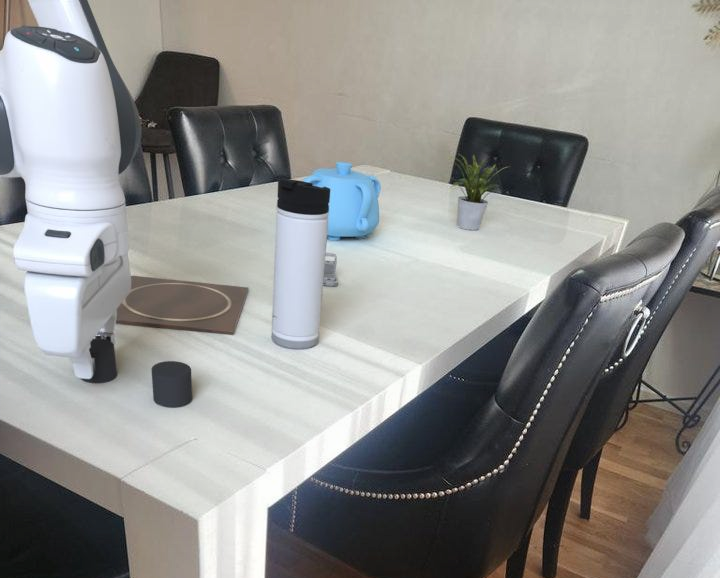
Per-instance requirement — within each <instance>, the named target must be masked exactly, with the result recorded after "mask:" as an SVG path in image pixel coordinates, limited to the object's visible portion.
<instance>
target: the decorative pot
mask: <svg viewBox="0 0 720 578" xmlns="http://www.w3.org/2000/svg"><path fill="white" fill-rule="evenodd" d="M335 167H336V168H324V167H321V168H318V169H315V170H314V171H313V172H312V174H310V175H308V176H306V177H304V179H302V181H303V182H308V183H312V184H313V185H312V186H317V187H327V188H330V201H329V204H328V205H329V216H328V231H327V240H330V241H340V240H341V237H344V238H345V237H347V238H348V237H352V238H354V237H355V238H354V239H358V238H364V239H365V238H366V237H365V236H367V235H371V234H372V233H373V232H374V231H375V230H376V228H377V227H378V225H379V223H380V205H379V198H380V197H379V196H380V194H381V190H382V185H381V182H380V180H379V179H378V178H377V177H376V176H374V175H371V174H365V173H362V172H359V171H356V170H352V167H353V164H352V163H351V162H346V161H336V162H335Z"/></svg>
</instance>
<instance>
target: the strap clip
mask: <svg viewBox="0 0 720 578" xmlns="http://www.w3.org/2000/svg"><path fill="white" fill-rule="evenodd" d="M325 257H330V258H331V257H332V258H334V260H325V267H324V279H323V286H327V287H330V286H331V287H338V283H339V279H338V277H337V276H336V270H337V264H338V257H337V254H335V253H333V252H326V255H325Z"/></svg>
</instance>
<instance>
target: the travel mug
mask: <svg viewBox="0 0 720 578" xmlns="http://www.w3.org/2000/svg"><path fill="white" fill-rule="evenodd" d="M312 185H313V184H312V183H308V182H303V180H299V179H298V180H296V179H291V178H278V179H277V201H276V212H275V216H276V217H275V236H274V238H275V239H274V259H273V260H274V261H273V263H274V265H273V284H272V285H273V287H272V288H273V289H272V312H271V313H272V314H271V339H272V341H273V342H274V343H275V344H276V345H278V346H280V347H283V348H286V349H292V350H307V349H311V348H312V347H315V346H316V345H317V344H318V343H319V339H320V337H319V336H320V328H321V327H320V326H321V315H322V303H323V292H324V291H323V289H324V285H323V279H324V267H325V261H326V256H325V255H326V253H327V242H328V241H327V240H328V238H327V237H328V235H327V231H328V216H329V205H328V204H329V201H330V188H327V187H317V186H312Z"/></svg>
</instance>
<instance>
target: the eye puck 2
mask: <svg viewBox="0 0 720 578" xmlns="http://www.w3.org/2000/svg"><path fill="white" fill-rule="evenodd" d="M150 372H151V382H152V383H151V384H152V397H153V401H154V403H155V404H156V405H158V406H161V407H164V408H181V407H185V406H187V405H189V404H190V403H191V402H192V400H193V385H192V384H193V382H192V381H193V379H192V367H191V366H190V365H189V364H187V363H184V362H182V361H177V360H176V361H175V360H166V361H162V362H161V361H160V362H158V363H155V364H154V365H152V367H151V370H150Z"/></svg>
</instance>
